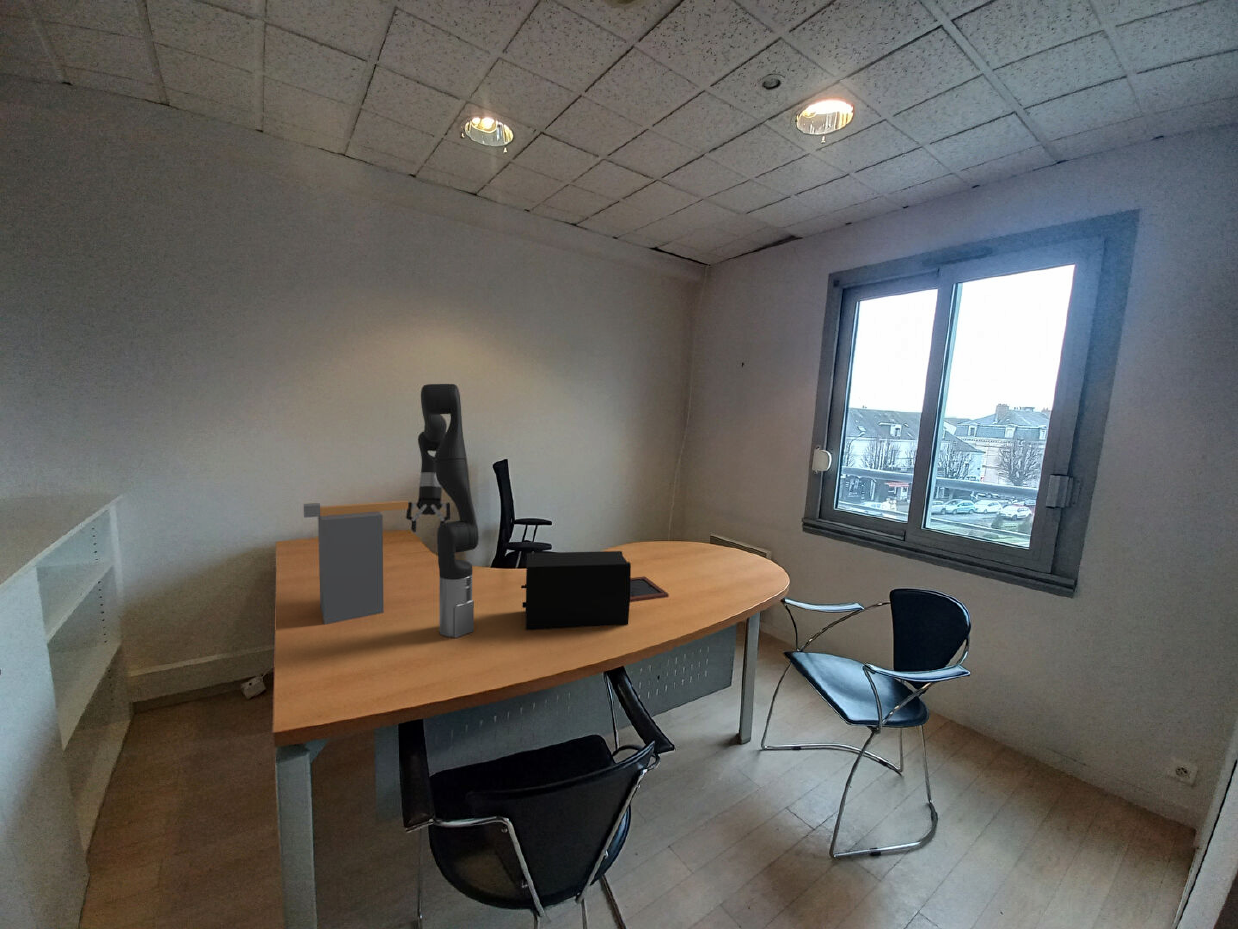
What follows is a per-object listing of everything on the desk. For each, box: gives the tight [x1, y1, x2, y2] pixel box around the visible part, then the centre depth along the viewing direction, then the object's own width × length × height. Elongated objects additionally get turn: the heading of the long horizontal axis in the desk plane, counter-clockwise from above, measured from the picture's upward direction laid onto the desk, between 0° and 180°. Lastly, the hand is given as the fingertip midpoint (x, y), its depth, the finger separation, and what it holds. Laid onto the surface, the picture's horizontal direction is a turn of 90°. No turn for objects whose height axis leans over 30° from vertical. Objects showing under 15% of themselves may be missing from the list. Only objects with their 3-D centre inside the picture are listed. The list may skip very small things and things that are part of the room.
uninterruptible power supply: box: [520, 550, 632, 631], centre depth 146 cm, size 16×34×20 cm, turn 102°
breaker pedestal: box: [317, 511, 385, 625], centre depth 145 cm, size 16×16×32 cm
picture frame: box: [630, 575, 670, 603], centre depth 172 cm, size 20×2×25 cm
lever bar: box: [303, 500, 409, 518], centre depth 145 cm, size 29×4×4 cm, turn 127°
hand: (427, 532), depth 157 cm, fingers open, 8 cm apart
